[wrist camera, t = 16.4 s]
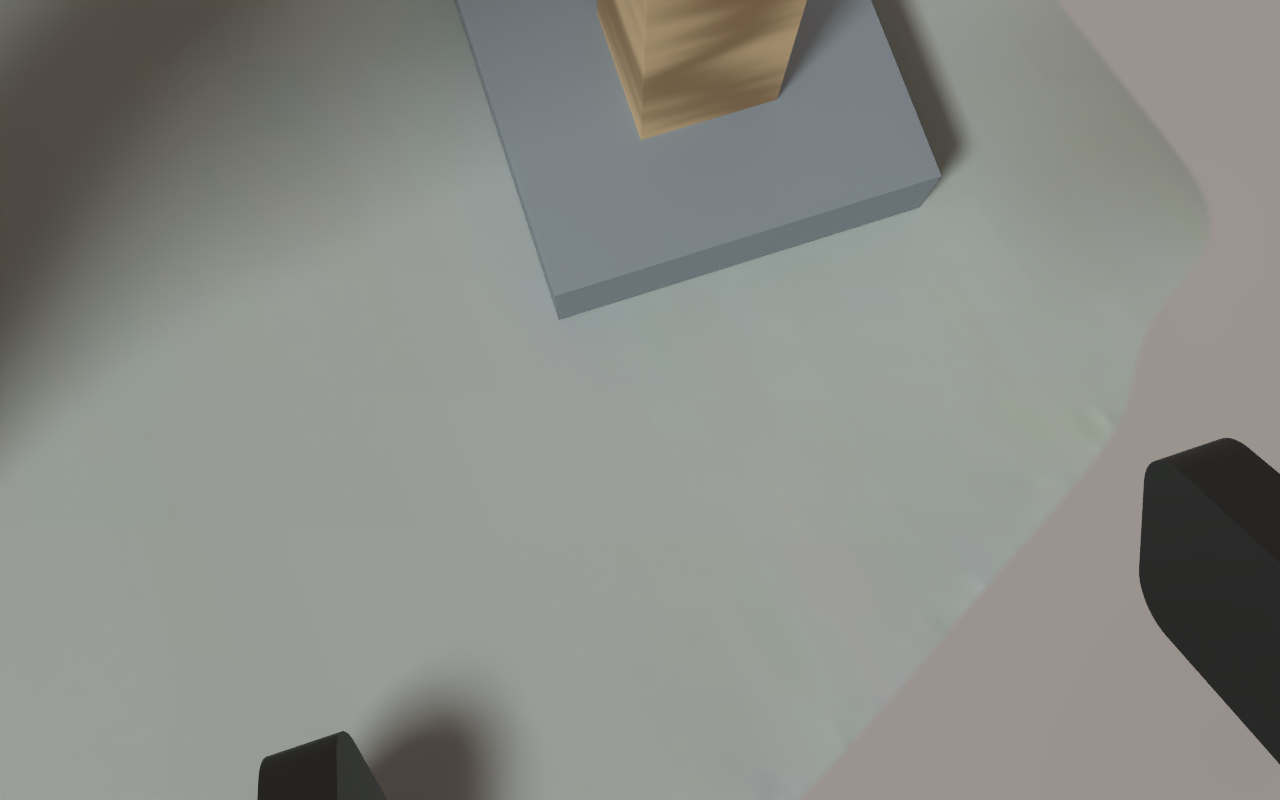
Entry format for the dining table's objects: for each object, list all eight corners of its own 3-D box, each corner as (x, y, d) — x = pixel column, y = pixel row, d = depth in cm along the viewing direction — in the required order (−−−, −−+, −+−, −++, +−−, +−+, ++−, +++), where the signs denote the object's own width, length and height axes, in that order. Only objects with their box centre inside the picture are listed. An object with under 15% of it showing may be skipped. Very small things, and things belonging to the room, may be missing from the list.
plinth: (559, 319, 41) (554, 296, 38) (449, -17, 44) (437, -63, 41) (919, 207, 42) (941, 175, 39) (792, -115, 45) (804, -167, 42)
